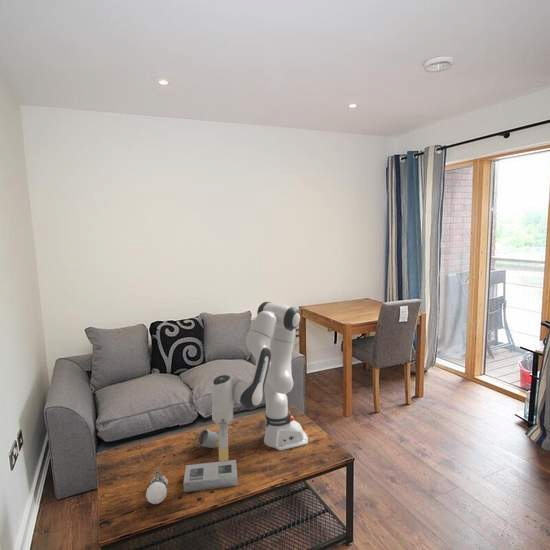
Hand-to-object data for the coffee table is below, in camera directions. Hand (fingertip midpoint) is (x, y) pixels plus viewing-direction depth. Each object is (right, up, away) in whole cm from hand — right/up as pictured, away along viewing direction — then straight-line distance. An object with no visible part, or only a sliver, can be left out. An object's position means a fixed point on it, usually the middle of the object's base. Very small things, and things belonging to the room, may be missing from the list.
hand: (223, 445), depth 161 cm
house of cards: (-28, -17, -4) cm, 33 cm away
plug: (0, -6, +1) cm, 6 cm away
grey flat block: (-5, -15, +1) cm, 16 cm away
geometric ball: (-25, -17, -12) cm, 32 cm away
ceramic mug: (-11, -13, +26) cm, 31 cm away
